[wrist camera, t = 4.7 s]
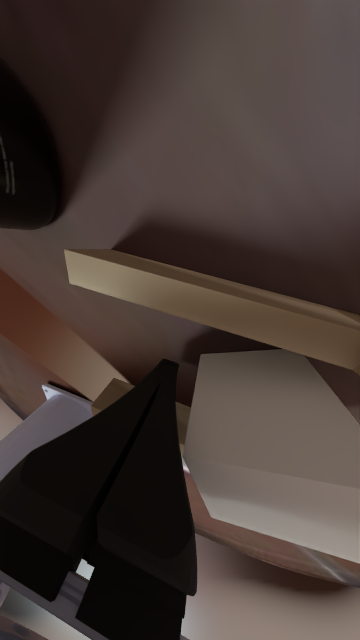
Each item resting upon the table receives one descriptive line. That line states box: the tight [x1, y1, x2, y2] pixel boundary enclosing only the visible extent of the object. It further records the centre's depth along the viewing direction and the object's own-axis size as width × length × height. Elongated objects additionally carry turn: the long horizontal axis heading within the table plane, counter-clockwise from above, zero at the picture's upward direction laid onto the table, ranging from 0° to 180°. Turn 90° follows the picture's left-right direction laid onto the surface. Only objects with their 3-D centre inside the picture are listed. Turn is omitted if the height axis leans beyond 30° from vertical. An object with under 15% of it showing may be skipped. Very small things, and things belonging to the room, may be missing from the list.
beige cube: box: [183, 349, 360, 564], centre depth 8 cm, size 6×6×6 cm
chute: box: [64, 249, 360, 454], centre depth 9 cm, size 14×14×4 cm
